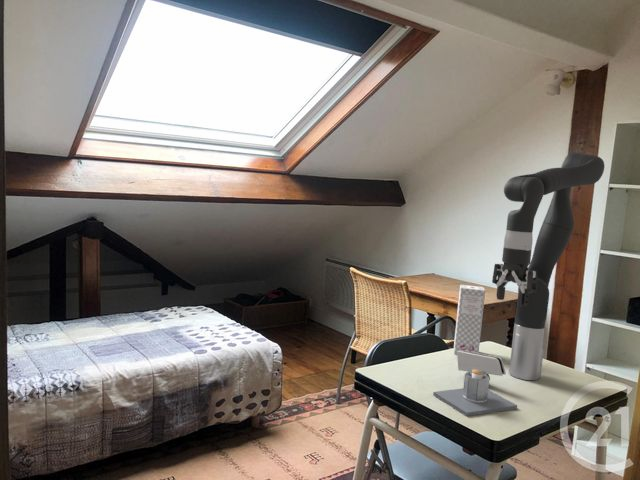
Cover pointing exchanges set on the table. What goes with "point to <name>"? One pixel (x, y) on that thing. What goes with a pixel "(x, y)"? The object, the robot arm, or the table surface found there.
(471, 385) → the grey octagonal hollow block
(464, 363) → the bracket
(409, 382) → the table surface
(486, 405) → the panel
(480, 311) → the box
